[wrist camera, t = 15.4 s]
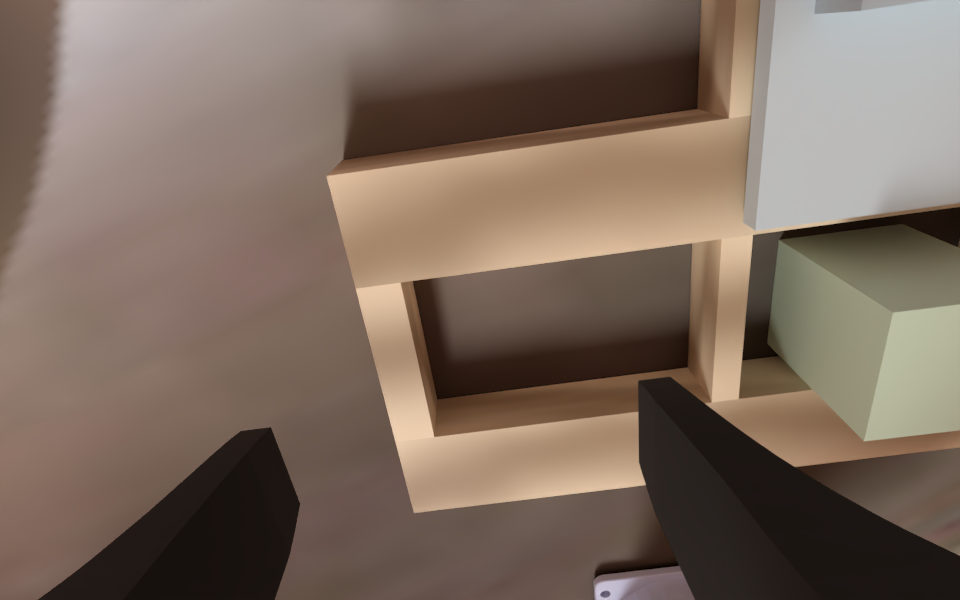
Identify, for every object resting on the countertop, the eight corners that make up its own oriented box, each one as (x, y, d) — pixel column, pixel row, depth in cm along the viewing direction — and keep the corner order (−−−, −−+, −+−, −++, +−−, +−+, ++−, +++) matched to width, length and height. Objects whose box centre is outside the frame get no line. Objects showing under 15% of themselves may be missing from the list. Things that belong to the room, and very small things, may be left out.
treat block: (878, 329, 22) (1013, 424, 17) (766, 343, 22) (863, 441, 17) (901, 223, 20) (1062, 291, 15) (778, 239, 20) (893, 312, 15)
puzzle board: (949, 405, 24) (998, 442, 22) (418, 470, 24) (413, 513, 22) (1103, -112, 16) (1205, -136, 14) (306, 11, 16) (282, 7, 14)
